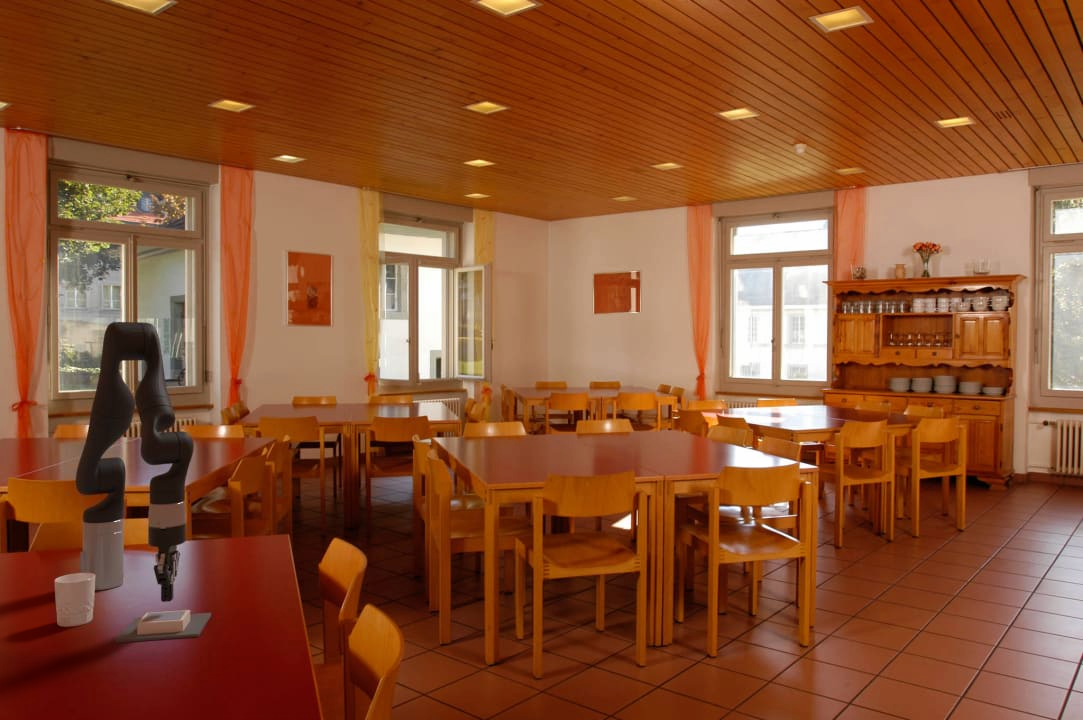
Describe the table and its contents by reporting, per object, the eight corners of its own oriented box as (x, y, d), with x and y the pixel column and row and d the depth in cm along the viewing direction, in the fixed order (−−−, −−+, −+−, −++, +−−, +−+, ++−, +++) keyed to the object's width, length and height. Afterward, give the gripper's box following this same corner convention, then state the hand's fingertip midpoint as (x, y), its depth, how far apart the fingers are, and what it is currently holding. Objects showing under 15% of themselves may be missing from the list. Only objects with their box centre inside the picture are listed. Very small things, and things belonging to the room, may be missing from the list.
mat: (116, 642, 160) (116, 639, 160) (135, 620, 174) (135, 617, 174) (198, 636, 164) (198, 633, 164) (211, 615, 177) (211, 612, 177)
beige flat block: (146, 623, 170) (137, 634, 163) (146, 612, 170) (137, 622, 163) (190, 620, 172) (182, 631, 165) (190, 609, 172) (183, 619, 165)
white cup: (103, 618, 175) (103, 574, 175) (72, 629, 168) (72, 584, 168) (77, 614, 178) (77, 571, 178) (45, 625, 170) (46, 580, 170)
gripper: (156, 517, 175) (156, 592, 175) (140, 529, 162) (140, 611, 162) (192, 515, 177) (192, 590, 177) (178, 527, 164) (178, 608, 164)
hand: (167, 600), depth 170 cm, fingers closed
